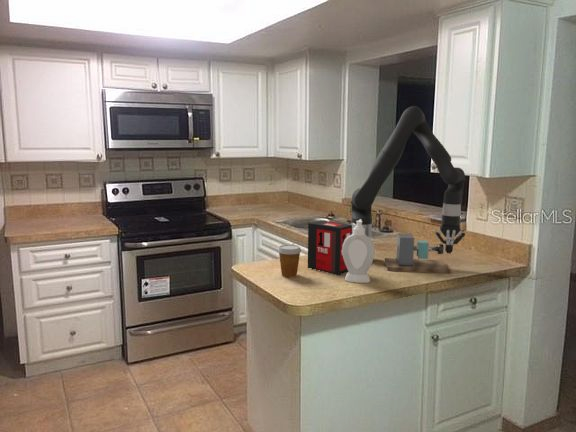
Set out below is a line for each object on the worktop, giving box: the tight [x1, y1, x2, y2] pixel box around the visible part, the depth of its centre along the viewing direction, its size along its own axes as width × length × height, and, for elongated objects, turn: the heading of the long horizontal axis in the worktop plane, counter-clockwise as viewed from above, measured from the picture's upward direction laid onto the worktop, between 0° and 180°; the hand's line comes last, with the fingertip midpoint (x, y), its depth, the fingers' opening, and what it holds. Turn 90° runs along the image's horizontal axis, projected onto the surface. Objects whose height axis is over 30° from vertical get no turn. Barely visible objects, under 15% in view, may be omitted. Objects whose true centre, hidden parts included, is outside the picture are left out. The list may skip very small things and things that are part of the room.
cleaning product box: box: [307, 220, 352, 276], centre depth 206 cm, size 16×9×20 cm, turn 50°
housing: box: [396, 232, 415, 266], centre depth 212 cm, size 6×10×12 cm, turn 173°
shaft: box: [414, 243, 445, 255], centre depth 211 cm, size 16×4×4 cm, turn 83°
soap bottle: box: [342, 219, 376, 284], centre depth 190 cm, size 13×8×24 cm, turn 74°
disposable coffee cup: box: [277, 244, 302, 278], centre depth 197 cm, size 10×10×12 cm
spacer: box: [416, 240, 430, 260], centre depth 211 cm, size 4×6×7 cm
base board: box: [384, 257, 451, 274], centre depth 212 cm, size 26×16×2 cm, turn 83°
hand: (448, 253), depth 210 cm, fingers closed
